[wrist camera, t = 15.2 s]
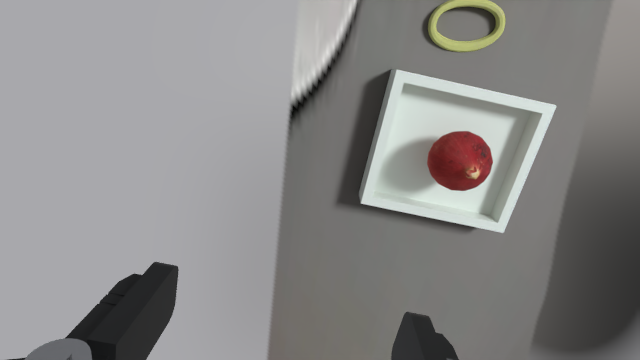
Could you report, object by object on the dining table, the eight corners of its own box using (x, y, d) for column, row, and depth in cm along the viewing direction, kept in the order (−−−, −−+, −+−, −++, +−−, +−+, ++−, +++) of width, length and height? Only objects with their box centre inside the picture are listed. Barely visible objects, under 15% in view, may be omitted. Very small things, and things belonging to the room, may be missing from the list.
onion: (452, 113, 37) (485, 126, 29) (485, 153, 38) (524, 175, 30) (408, 150, 38) (428, 172, 30) (441, 187, 39) (468, 217, 32)
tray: (391, 69, 36) (396, 69, 33) (539, 102, 37) (556, 105, 34) (358, 193, 41) (360, 203, 38) (491, 221, 41) (503, 232, 39)
